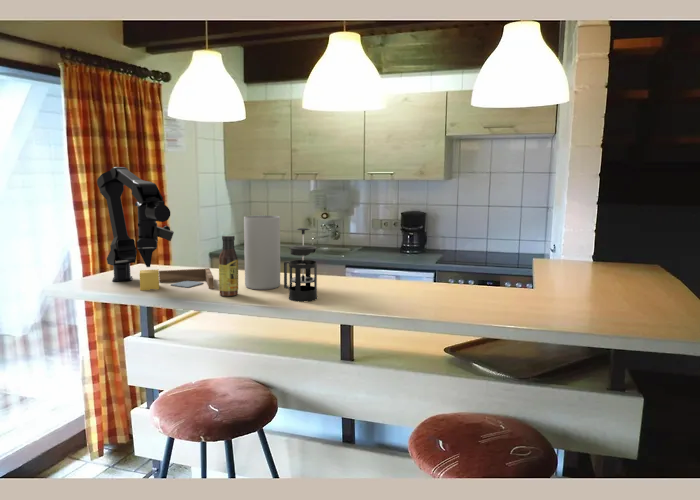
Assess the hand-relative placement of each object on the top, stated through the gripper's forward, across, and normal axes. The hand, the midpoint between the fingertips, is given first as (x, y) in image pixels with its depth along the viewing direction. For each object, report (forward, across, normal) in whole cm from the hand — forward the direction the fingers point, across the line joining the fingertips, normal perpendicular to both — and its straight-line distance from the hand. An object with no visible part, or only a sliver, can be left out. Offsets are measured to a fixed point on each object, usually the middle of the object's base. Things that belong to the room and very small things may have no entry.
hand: (148, 264), depth 178 cm
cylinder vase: (+8, -8, -38) cm, 40 cm away
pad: (+8, +2, -13) cm, 15 cm away
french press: (+8, -29, -47) cm, 56 cm away
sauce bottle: (+8, -18, -25) cm, 32 cm away
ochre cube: (+8, 0, 0) cm, 8 cm away
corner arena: (+8, +3, -12) cm, 15 cm away
